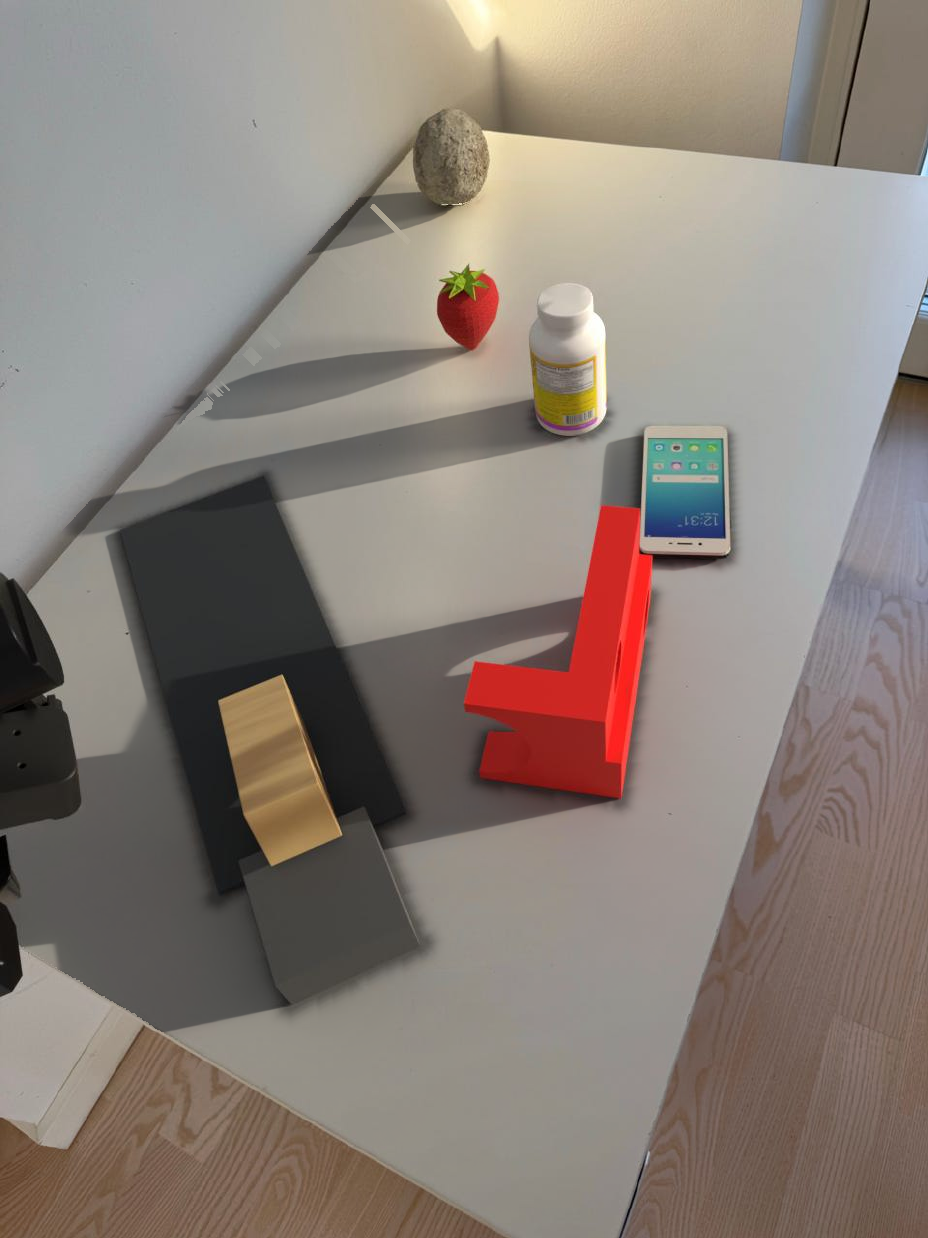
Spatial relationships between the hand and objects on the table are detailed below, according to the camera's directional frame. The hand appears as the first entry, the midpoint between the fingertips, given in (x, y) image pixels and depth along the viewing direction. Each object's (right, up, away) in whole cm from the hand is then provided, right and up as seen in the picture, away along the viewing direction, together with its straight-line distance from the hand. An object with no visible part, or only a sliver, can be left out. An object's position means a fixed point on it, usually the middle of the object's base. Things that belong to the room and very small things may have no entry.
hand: (12, 895), depth 57 cm
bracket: (+34, +11, +19) cm, 40 cm away
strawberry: (+27, +43, +45) cm, 68 cm away
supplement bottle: (+36, +35, +37) cm, 62 cm away
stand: (+17, -4, +11) cm, 20 cm away
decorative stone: (+25, +65, +61) cm, 93 cm away
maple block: (+15, +2, +7) cm, 17 cm away
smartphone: (+45, +27, +29) cm, 60 cm away
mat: (+8, +13, +25) cm, 29 cm away
